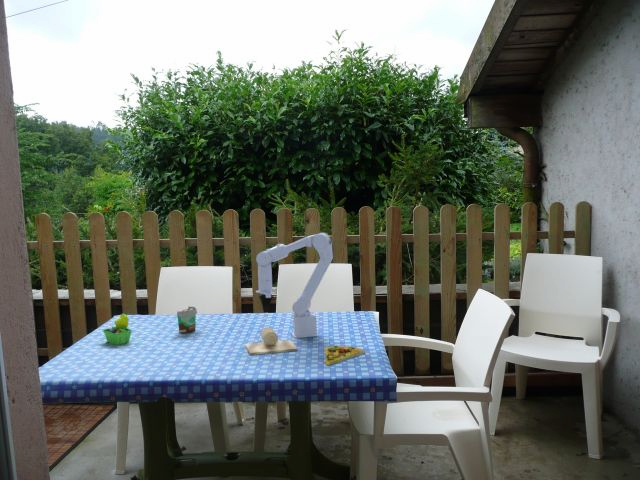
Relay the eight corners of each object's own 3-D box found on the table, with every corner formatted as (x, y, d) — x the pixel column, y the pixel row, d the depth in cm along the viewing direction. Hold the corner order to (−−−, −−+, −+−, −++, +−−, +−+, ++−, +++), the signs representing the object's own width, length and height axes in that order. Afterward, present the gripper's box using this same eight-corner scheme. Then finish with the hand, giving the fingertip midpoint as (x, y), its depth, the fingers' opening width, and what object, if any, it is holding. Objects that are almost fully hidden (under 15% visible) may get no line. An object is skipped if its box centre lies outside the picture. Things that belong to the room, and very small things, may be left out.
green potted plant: (102, 341, 234) (101, 315, 233) (122, 337, 240) (121, 311, 239) (115, 346, 226) (114, 318, 225) (136, 341, 232) (134, 314, 231)
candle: (262, 325, 224) (266, 331, 214) (276, 328, 225) (280, 334, 216) (259, 339, 224) (262, 345, 214) (272, 342, 225) (276, 348, 216)
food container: (191, 335, 241) (189, 312, 241) (177, 334, 243) (176, 311, 242) (202, 328, 253) (201, 306, 253) (189, 328, 255) (188, 306, 254)
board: (290, 341, 225) (290, 339, 225) (297, 350, 212) (297, 348, 212) (245, 346, 221) (245, 344, 221) (249, 355, 208) (249, 353, 208)
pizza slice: (366, 353, 208) (366, 345, 208) (347, 369, 189) (347, 361, 189) (327, 350, 214) (327, 342, 214) (305, 365, 195) (305, 357, 195)
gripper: (253, 278, 241) (254, 309, 242) (258, 283, 227) (259, 316, 228) (269, 277, 243) (270, 308, 244) (275, 281, 229) (276, 314, 230)
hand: (266, 312), depth 236 cm, fingers closed
